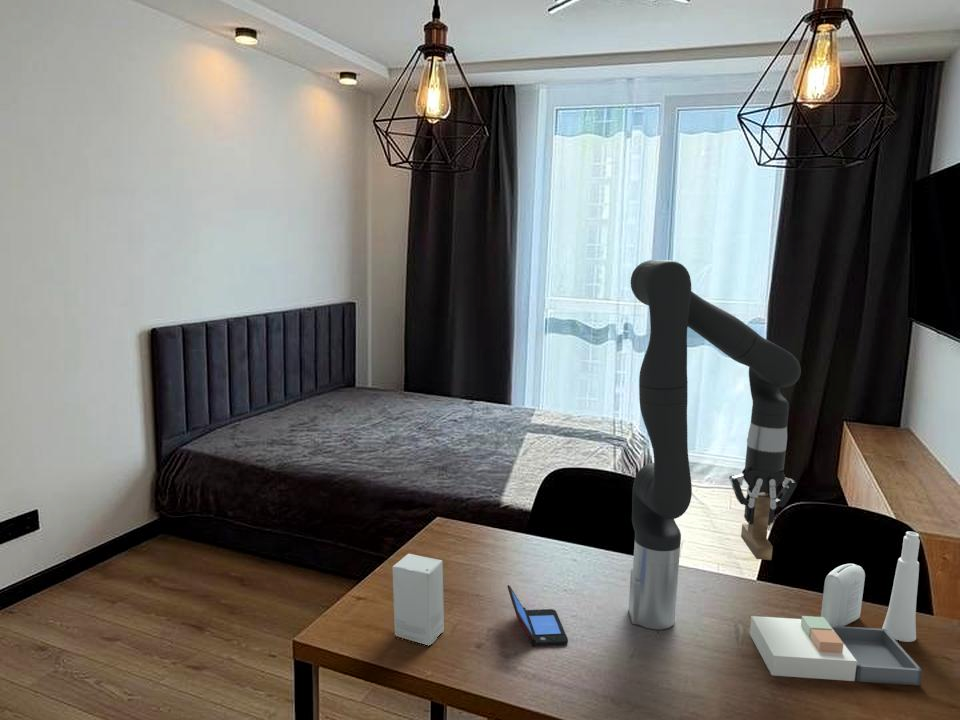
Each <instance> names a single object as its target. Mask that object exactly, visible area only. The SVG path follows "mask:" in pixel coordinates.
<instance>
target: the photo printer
mask: <svg viewBox="0 0 960 720" xmlns="http://www.w3.org/2000/svg"><path fill="white" fill-rule="evenodd" d="M865 578H866V573H865V570H864V569H863V567H862V566H860V565H858V564H855V563H846V564H845V563H844V564H842V565H839V566H837V567H835V568H834V569H833V570H831V571H830V572H829V573H828V574H827V575H826V577H825V579H824V585H823V595H822V602H821V612H820V617H824V618H825V619H826V621H827V622H828V623H829V625H830V626H845V627H846V626H847V625H849V624H851V623H853V622H855V621H857V620H858V619H859V618H860V616H861V611H862V603H863V594H864V587H865V580H866V579H865Z"/></svg>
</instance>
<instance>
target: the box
mask: <svg viewBox="0 0 960 720" xmlns="http://www.w3.org/2000/svg"><path fill="white" fill-rule="evenodd" d="M831 627H832V629H833V630H834V631H835V633H836V634H837V635H838V637H839V638H840V639H841V641H842V642H843V643H844V645H845V646H846V647H847V649H848V650H849V651H850V653H851V654H852V655H853V657H854V658H855V659H856V661H857V665H856V673H855V681H856V682H861V683H875V684H888V685H889V684H890V685H891V684H892V685H906V686H921V684H922V678H923V677H922V676H923V670H922V669H921V667H920V666H919V665H918V664H917V663H916V662H915V660H914V659H913V658H912V657H911V656H910V655H909V654H908V653H907V651H906V650H905V649H904V648H903V647H902V646H901V644H899V643H898V641H897V640H895V639H894V638H893V637H892V636H891V635H890V634H889V633H888V632H887V630H886V629H882V628H876V627H875V628H874V627H873V628H872V627H858V626H857V627H856V626H846V625H845V626H831Z"/></svg>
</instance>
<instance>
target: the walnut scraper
mask: <svg viewBox="0 0 960 720" xmlns="http://www.w3.org/2000/svg"><path fill="white" fill-rule="evenodd" d="M770 501H771V499H770V497H769V496H768V495H767V494H766V493H765V492H761V493H759V494H758V498H756V499H755V504H754V507H753V508H754V516H753V524H746V523H742V524H741V534H740V538H741V539H742V541H743V542H744V543H745V545H746V546H747V548H748V549H749V551H750V552H751V553H752V555H753V557H754V558H755V559H756V560H763V561H764V560H765V561H766V560H767V561H772V558H773V551H774V550H773V549H774V548H773V547H774V546H773V545H772V543H771V542H770V541H769V540H768V537H767V536H768V527H769V525H768V520H769V510H770Z"/></svg>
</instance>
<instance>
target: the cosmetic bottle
mask: <svg viewBox="0 0 960 720" xmlns="http://www.w3.org/2000/svg"><path fill="white" fill-rule="evenodd" d="M919 537H920V535H919V533H917V532H915V531H906V532H905V535H904V536H903V540H902V541H903V542H902V547H901V548H902V549H901V553H900V554H901V555H900V557H899V558H898V559H897V563H896V568H895V573H894V574H895V575H894V579H893V584H892V585H893V586H892V589H891V595H890V600H889V604H888V609H887V612H886V616H885V620H884V621H883V625H882V628H881V629H886V630H887V632H888V633H889V634H890V635H891V636H892V637H893V638H894V639H895V640H896V641H898V640H899V642H904V643H911V642H915V641H917V628H916V627H917V625H916V620H917V619H916V616H917V615H916V614H917V613H916V612H917V598H918V597H917V596H918V586H919V573H920V562H919V561H918V557H919V552H920V551H919V549H920V543H921V541H920V539H919Z"/></svg>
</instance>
